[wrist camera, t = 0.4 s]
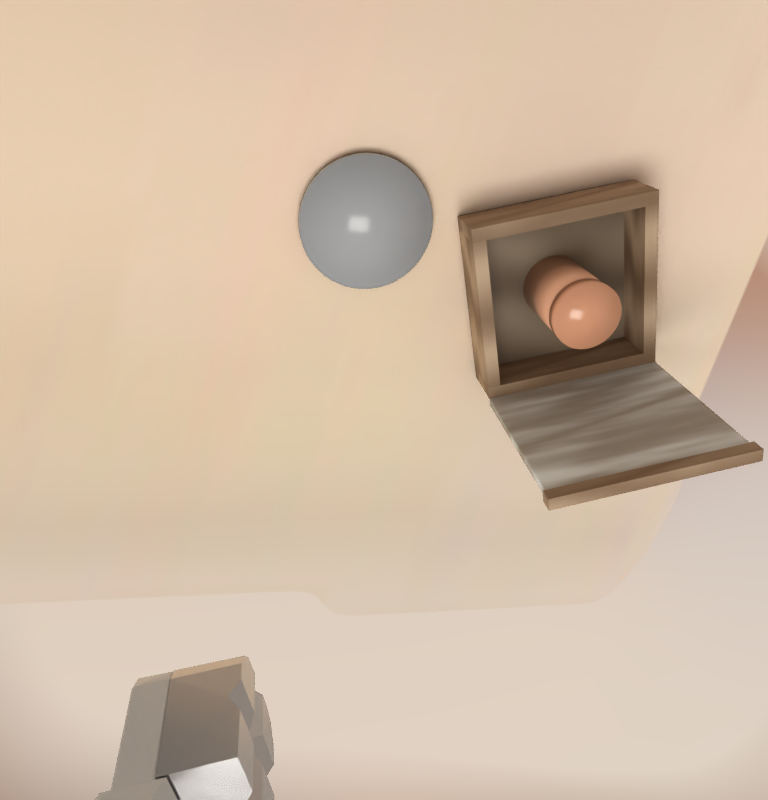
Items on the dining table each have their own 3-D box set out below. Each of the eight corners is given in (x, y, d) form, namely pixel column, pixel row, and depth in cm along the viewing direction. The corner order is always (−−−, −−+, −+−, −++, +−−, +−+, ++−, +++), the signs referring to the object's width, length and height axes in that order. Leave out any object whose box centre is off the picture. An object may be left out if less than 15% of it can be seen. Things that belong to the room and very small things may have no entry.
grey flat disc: (284, 167, 50) (284, 169, 50) (421, 139, 51) (422, 141, 50) (314, 298, 55) (315, 300, 54) (438, 271, 55) (440, 274, 55)
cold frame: (455, 217, 54) (534, 295, 38) (636, 179, 54) (787, 240, 39) (475, 385, 61) (548, 510, 45) (634, 349, 61) (762, 460, 46)
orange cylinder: (520, 262, 56) (551, 291, 49) (582, 248, 56) (621, 276, 50) (524, 321, 58) (555, 355, 52) (584, 308, 58) (621, 341, 52)
